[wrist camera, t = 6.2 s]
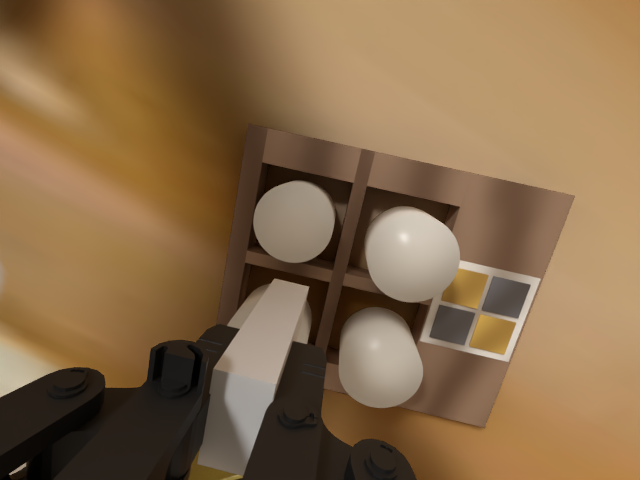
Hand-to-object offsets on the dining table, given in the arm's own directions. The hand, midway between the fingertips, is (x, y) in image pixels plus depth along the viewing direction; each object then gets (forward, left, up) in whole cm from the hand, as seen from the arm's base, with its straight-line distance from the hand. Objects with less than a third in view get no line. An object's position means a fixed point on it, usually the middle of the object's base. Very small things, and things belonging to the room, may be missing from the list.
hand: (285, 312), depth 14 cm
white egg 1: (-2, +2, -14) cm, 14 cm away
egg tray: (+5, -2, -15) cm, 16 cm away
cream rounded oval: (+6, -6, -12) cm, 15 cm away
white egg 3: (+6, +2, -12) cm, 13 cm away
